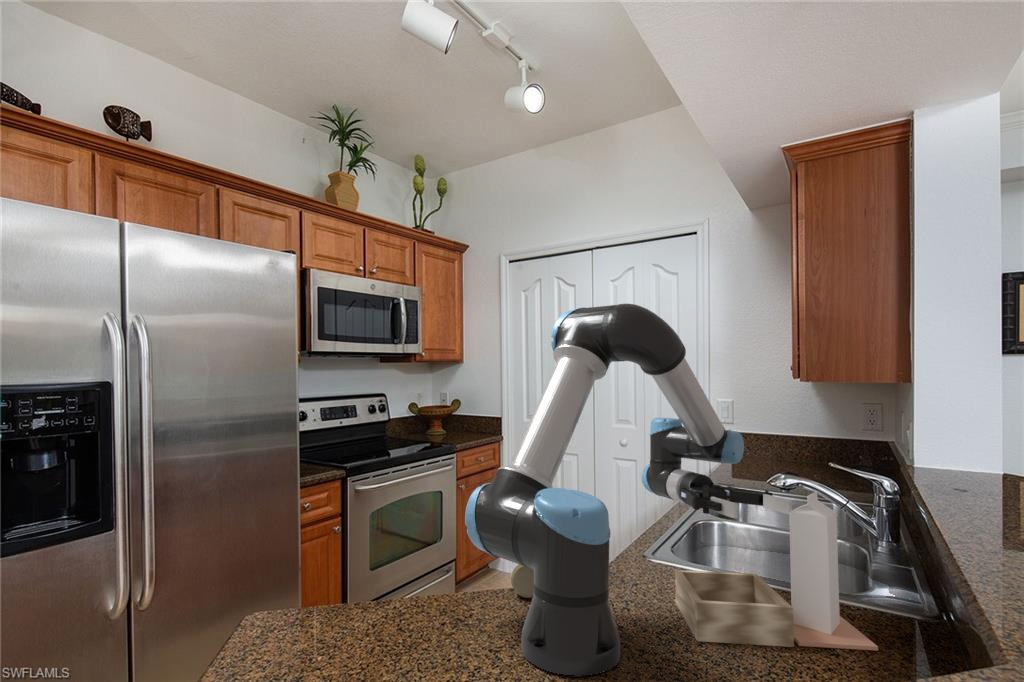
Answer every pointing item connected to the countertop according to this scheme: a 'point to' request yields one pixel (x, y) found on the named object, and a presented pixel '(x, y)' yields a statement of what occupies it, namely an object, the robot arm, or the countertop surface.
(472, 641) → the countertop surface
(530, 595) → the ceramic mug
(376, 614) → the countertop surface
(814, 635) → the mat
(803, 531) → the milk
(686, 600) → the holder
